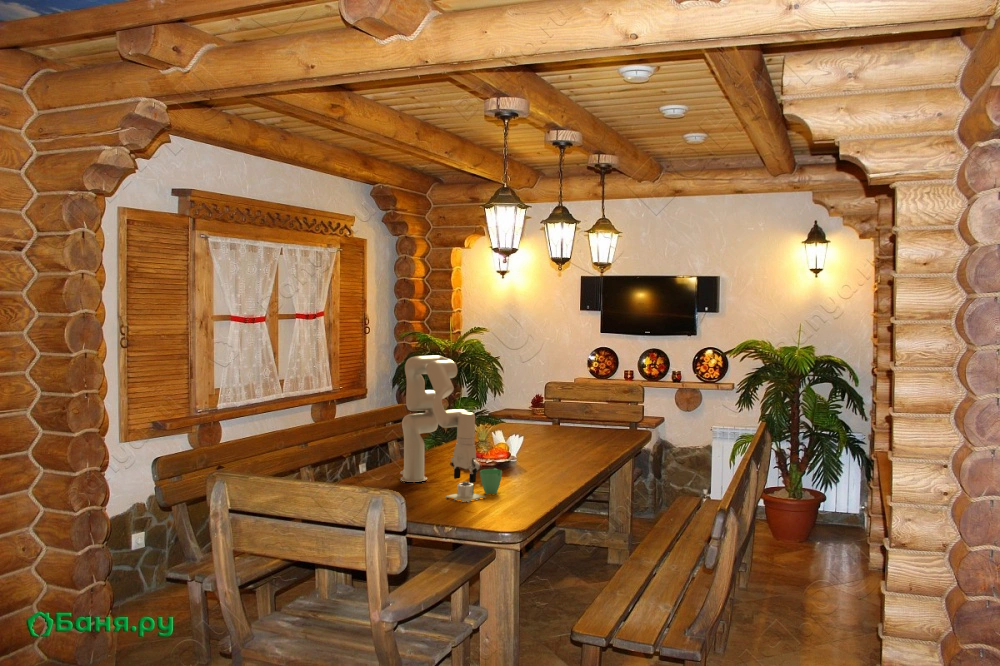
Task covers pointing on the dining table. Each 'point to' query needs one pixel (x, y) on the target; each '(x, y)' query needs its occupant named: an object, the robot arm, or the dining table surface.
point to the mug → (490, 480)
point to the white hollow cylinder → (465, 490)
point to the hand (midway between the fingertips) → (464, 480)
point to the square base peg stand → (476, 496)
